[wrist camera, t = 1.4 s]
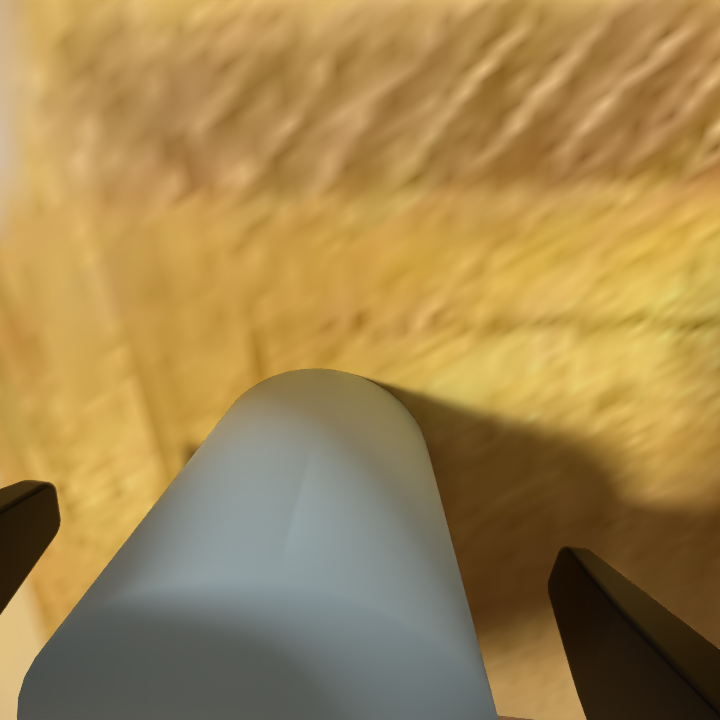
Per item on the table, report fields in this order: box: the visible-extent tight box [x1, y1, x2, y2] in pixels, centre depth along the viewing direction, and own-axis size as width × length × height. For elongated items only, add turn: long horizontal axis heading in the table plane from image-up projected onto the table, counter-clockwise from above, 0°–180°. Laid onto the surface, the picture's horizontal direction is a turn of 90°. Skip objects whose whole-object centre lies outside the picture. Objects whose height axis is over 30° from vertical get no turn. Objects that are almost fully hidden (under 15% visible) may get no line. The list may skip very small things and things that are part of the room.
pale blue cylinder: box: [17, 369, 498, 720], centre depth 6 cm, size 5×5×5 cm
